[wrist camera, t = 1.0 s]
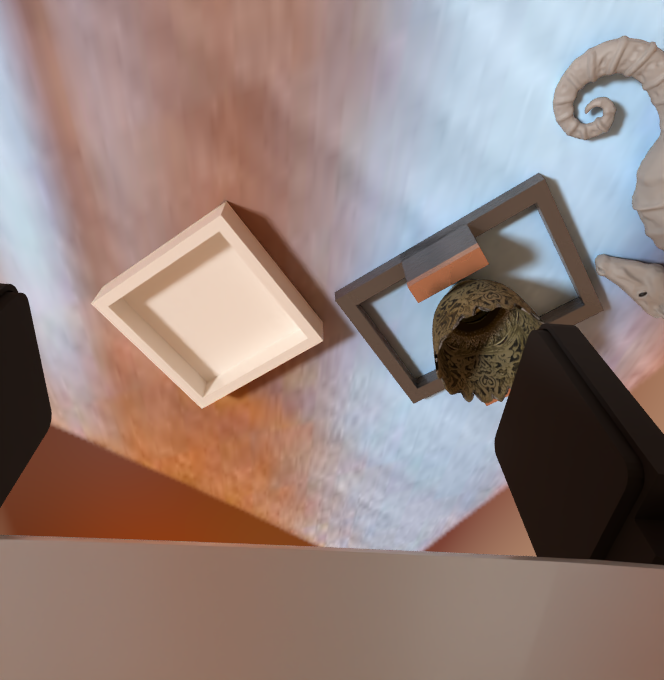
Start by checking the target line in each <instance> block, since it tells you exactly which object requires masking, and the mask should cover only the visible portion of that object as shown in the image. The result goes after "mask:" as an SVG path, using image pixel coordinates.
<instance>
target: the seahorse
mask: <svg viewBox="0 0 664 680" xmlns="http://www.w3.org/2000/svg"><path fill="white" fill-rule="evenodd" d="M615 73H621V74H624V75H625V76H626V77H630V76H632V77H634V78H635V79H637V80H638V81H639V82H641V83H642V88H643V90H646V91H647V92H648V94H649V96H650V98H651V102H652V104H653V105H654V106H655V107H656V109H657V111H658V114H659V118H660V129H661V133H660V136H659V138H658V139H657V140H656V142H655V143H654V144H653V146H652V147H651V148H650V150H649V151H648V153H647V154H646V156H645V158H644V159H643V160H642V162H641V165H640V167H639V168H638V171H637V183H636V189H635V191H634V194H633V196H632V199H633V200H632V205H633V206H632V207H633V209H634V210H637V212H638V214H639V216H640V219H641V220H642V222H643V224H644V227H645V234H646V235H647V236H648V237H650V238H651V239H652V240H653V241H654V243H655V245H656V246H657V247H658V248H659V249H662V250H664V52H663V51H662V50H661V49H659V48H658V47H657V45H656V43H655V42H650V43H649V42H647V41H644V40H641V39H633V38H628V37H627V36H622V37H620V38H618V39H613V40H609V41H606V42H603V43H601V44H599V45H597V46H595V47H593V48H590V49H588V50H587V51H586V52H585V53H584V54H583V55H581V56H580V57H578V58H576V59H575V60H574V61H573V62H572V64H571V65H570V66H569V68H568V69H567V70H566V71H565V73H564V74H563V76H562V78H561V79H560V81H559V83H558V85H557V87H556V89H555V93H554V99H553V110H554V114H555V117H556V121H557V123H558V124H559V125H560V126H561V127H562V129H563V131H564V132H566V134H567V135H568V136H572V137H575V138H579V139H581V138H582V139H584V140H587V139H589V138H592V137H596V136H598V135H600V134H602V133H606V132H608V131H609V128H610V127H611V125H612V123H613V121H614V115H615V112H616V107H615V106H614V103H613V102H612V101H611V100H610V99H609V98H607V97H599V98H596V99H594V100H592V101H591V102H590V103H589V104H588V105H587V106H586V108H585V114H587V113H588V112H589V111H590V110H591V109H592V108H594V107H601V108H603V116H602V117H597V118H596V119H595V121H594V122H592V123H588V124H585V123H583V124H582V123H580V122H579V120H578V119H576V118H575V117H574V115H573V112H574V107H573V102H574V100H575V98H576V97H577V93H578V91H579V90H580V89H582V88H583V87H584V86H585V85H586V84H587V83H589V82H596V81H597V79H598V78H600V77H602V76H605V75H613V74H615ZM595 265H596V271H597V273H598V275H600V276H605V277H606V278H607V279H609V280H611V281H612V282H613V283H615V284H616V285H618V286H619V287H620V288H621V289H622V290H624V291H625V292H626V293H627V294H628V295H629V296H630V297H631V298H632V299H633V300H634V301H635V302H636V303H637V304H638V305H639V306H641V307H642V309H643V310H644V311H645V312H646V313H647V314H649V315H651V316H652V317H655V318H663V319H664V267H663V266H662V265H660V264H655V263H652V264H646V263H642V262H639V261H634V260H627V259H620V258H616V257H609V256H607V255H605V254H601V255H598V256H597V257H596V259H595Z"/></svg>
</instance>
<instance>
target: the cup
mask: <svg viewBox="0 0 664 680" xmlns="http://www.w3.org/2000/svg"><path fill="white" fill-rule="evenodd" d="M544 323H545V322H544V321H543V320H541V319H540V318H539V317H538V315H537V314H536V313H535V312H534V311H533V310H532V309H531V308H530V307H529V305H528V304H527V303H526V302H525V301H524V300H523V299H522V298H521V297H520V296H519V295H518V294H516V293H515V292H514V291H513V290H511V289H510V288H508V287H507V286H505V285H503V284H501V283H498V282H494V281H490V280H474V279H469V280H464V281H461V282H459V283H457V284H456V285H454V286H453V287H452V288H451V289H450V290H449V292H448V293H447V294H446V295H445V296H444V297H443V299H442V300H441V301H440V303H439V305H438V307H437V309H436V311H435V314H434V319H433V328H432V335H433V348H434V358H435V365H436V374H437V377H438V379H441V381H442V384H443V386H444V387H445V389H446V390H447V391H448V392H449V393H450V394H451V395H453V394H456V393H461V394H462V395H463V398H464V399H465V400H466V401H468V402H471V401H472V400H473V396H474V394H475V395H476V397H477V398H478V399H479V400H480V401H482V402H484V403H490V402H491V401H493V399H497V400H498V401H500V402H502V401H503V399H504V398H505V396H506V394H508V391H509V390H508V389H511V387H512V384H513V381H514V378H515V375H516V372H517V369H518V366H519V363H520V360H521V356H522V353H523V350H524V347H525V344H526V341H527V338H528V336H529V333H530V332H531V331H532V330H538V329H539V327H540V326H541V325H542V324H544ZM473 393H474V394H473Z"/></svg>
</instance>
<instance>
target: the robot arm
mask: <svg viewBox="0 0 664 680" xmlns="http://www.w3.org/2000/svg"><path fill="white" fill-rule="evenodd" d="M51 415H52V413H51V407H50V402H49V397H48V392H47V388H46V383H45V378H44V373H43V368H42V364H41V359H40V354H39V349H38V344H37V340H36V335H35V330H34V325H33V320H32V316H31V311H30V306H29V302H28V298H27V297H26V295H25V294H24V293H18V291H17V289H16V287H15V286H13V285H12V284H1V283H0V507H1V506H2V504H3V502H4V501H5V499H6V497H7V496H8V494H9V493H10V491H11V489H12V488H13V486H14V485H15V483H16V481H17V480H18V478H19V477H20V475H21V473H22V472H23V470H24V468H25V467H26V465H27V463H28V462H29V460H30V459H31V457H32V455H33V454H34V452H35V450H36V449H37V447H38V446H39V444H40V442H41V441H42V439H43V438H44V436H45V434H46V433H47V431H48V429H49V427H50V423H51ZM495 453H496V456H497V458H498V461H499V463H500V466H501V468H502V471H503V473H504V476H505V478H506V481H507V483H508V486H509V488H510V491H511V493H512V496H513V498H514V501H515V503H516V506H517V508H518V511H519V513H520V516H521V518H522V520H523V523H524V526H525V528H526V531H527V533H528V536H529V538H530V540H531V543H532V545H533V548H534V550H535V553H536V555H537V557H531V556H511V555H510V556H509V555H489V554H467V553H445V552H424V551H402V550H380V549H358V548H334V547H309V546H285V545H284V546H283V545H261V544H259V545H258V544H235V543H210V542H185V541H182V542H181V541H159V540H130V539H101V538H73V537H44V536H16V535H0V680H664V434H663V433H662V432H661V430H660V429H659V428H658V427H657V426H656V424H655V423H654V422H653V420H652V419H651V418H650V417H649V416H648V414H647V413H646V412H645V411H644V409H643V408H642V407H641V406H640V404H639V403H638V402H637V401H636V399H635V398H634V397H633V396H632V395H631V393H630V392H629V391H628V390H627V388H626V387H625V386H624V385H623V383H622V382H621V381H620V380H619V378H618V377H617V376H616V375H615V373H614V372H613V371H612V370H611V369H610V367H609V366H608V365H607V364H606V362H605V361H604V360H603V359H602V357H601V356H600V355H599V354H598V352H597V351H596V350H595V349H594V347H593V346H592V345H591V344H590V343H589V341H588V340H587V339H586V338H585V336H584V335H583V334H582V333H581V331H580V330H579V329H578V328H577V327H576V326H575V325H564V324H550V323H544V324H542V325H541V326H540V327H539V329H538V330H532V331H531V332H530V333H529V336H528V338H527V341H526V344H525V347H524V350H523V353H522V356H521V360H520V363H519V366H518V369H517V372H516V375H515V378H514V381H513V384H512V387H511V390H510V393H509V396H508V399H507V402H506V405H505V408H504V412H503V415H502V418H501V421H500V424H499V427H498V430H497V433H496V437H495Z"/></svg>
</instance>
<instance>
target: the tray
mask: <svg viewBox="0 0 664 680" xmlns="http://www.w3.org/2000/svg"><path fill="white" fill-rule="evenodd" d="M91 304H92V305H93V306H94V307H95V308H96V309H97V310H98V311H99V312H100V313H102V314H103V315H104V316H105V317H106V318H107V319H108V320H109V321H110V322H111V323H112V324H113V325H114V326H115V327H116V328H117V329H118V330H119V331H120V332H122V333H123V334H124V335H125V336H126V337H127V338H128V339H129V340H130V341H131V342H132V343H133V344H134V345H135V346H136V347H137V348H138V349H139V350H141V351H142V352H143V353H144V354H145V355H146V356H147V357H148V358H149V359H150V360H151V361H152V362H153V363H154V364H155V365H156V366H157V367H158V368H159V369H161V370H162V371H163V372H164V373H165V374H166V375H167V376H168V377H169V378H170V379H171V380H172V381H173V382H174V383H175V384H176V385H177V386H178V387H180V388H181V389H182V390H183V391H184V392H185V393H186V394H187V395H188V396H189V397H190V398H191V399H192V400H193V401H194V402H195V403H196V404H197V405H198V406H200V407H201V408H204V407H206V406H208V405H210V404H211V403H213V402H215V401H217V400H218V399H220V398H222V397H224V396H226V395H227V394H229V393H231V392H233V391H235V390H236V389H238V388H240V387H242V386H243V385H245V384H247V383H249V382H251V381H252V380H254V379H256V378H258V377H260V376H261V375H263V374H265V373H267V372H268V371H270V370H272V369H274V368H276V367H277V366H279V365H281V364H283V363H285V362H286V361H288V360H290V359H292V358H293V357H295V356H297V355H299V354H301V353H302V352H304V351H306V350H308V349H310V348H311V347H313V346H315V345H317V344H318V343H320V342H322V341H323V322H322V321H321V319H320V318H319V317H318V315H317V314H316V313H315V312H314V310H313V309H312V308H311V307H310V305H309V304H308V303H307V302H306V300H305V299H304V298H303V297H302V295H301V294H300V293H299V292H298V290H297V289H296V288H295V287H294V285H293V284H292V283H291V282H290V280H289V279H288V278H287V277H286V275H285V274H284V273H283V272H282V270H281V269H280V268H279V266H278V265H277V264H276V263H275V261H274V260H273V259H272V258H271V256H270V255H269V254H268V253H267V251H266V250H265V249H264V248H263V246H262V245H261V244H260V243H259V241H258V240H257V239H256V238H255V236H254V235H253V234H252V233H251V231H250V230H249V229H248V228H247V226H246V225H245V224H244V223H243V221H242V220H241V219H240V217H239V216H238V215H237V214H236V212H235V211H234V210H233V209H232V207H231V206H230V205H229V204H228V202H227V201H226V202H224V203H223V204H221V205H220V206H218V207H217V208H216V209H214V210H213V211H211V212H210V213H208V214H207V215H205V216H204V217H203V218H201V219H200V220H198V221H197V222H195V223H194V224H192V225H191V226H190V227H188V228H187V229H185V230H184V231H182V232H181V233H180V234H178V235H177V236H175V237H174V238H172V239H171V240H169V241H168V242H167V243H165V244H164V245H162V246H161V247H159V248H158V249H156V250H155V251H154V252H152V253H151V254H149V255H148V256H146V257H145V258H143V259H142V260H141V261H139V262H138V263H136V264H135V265H133V266H132V267H130V268H129V269H128V270H126V271H125V272H123V273H122V274H120V275H119V276H117V277H116V278H115V279H113V280H112V281H110V282H109V283H107V284H106V285H104V286H103V287H102V289H101V290H100V292H99V293H98V295H97V296H96V298H95V299H94V300H93V302H92V303H91Z"/></svg>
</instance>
